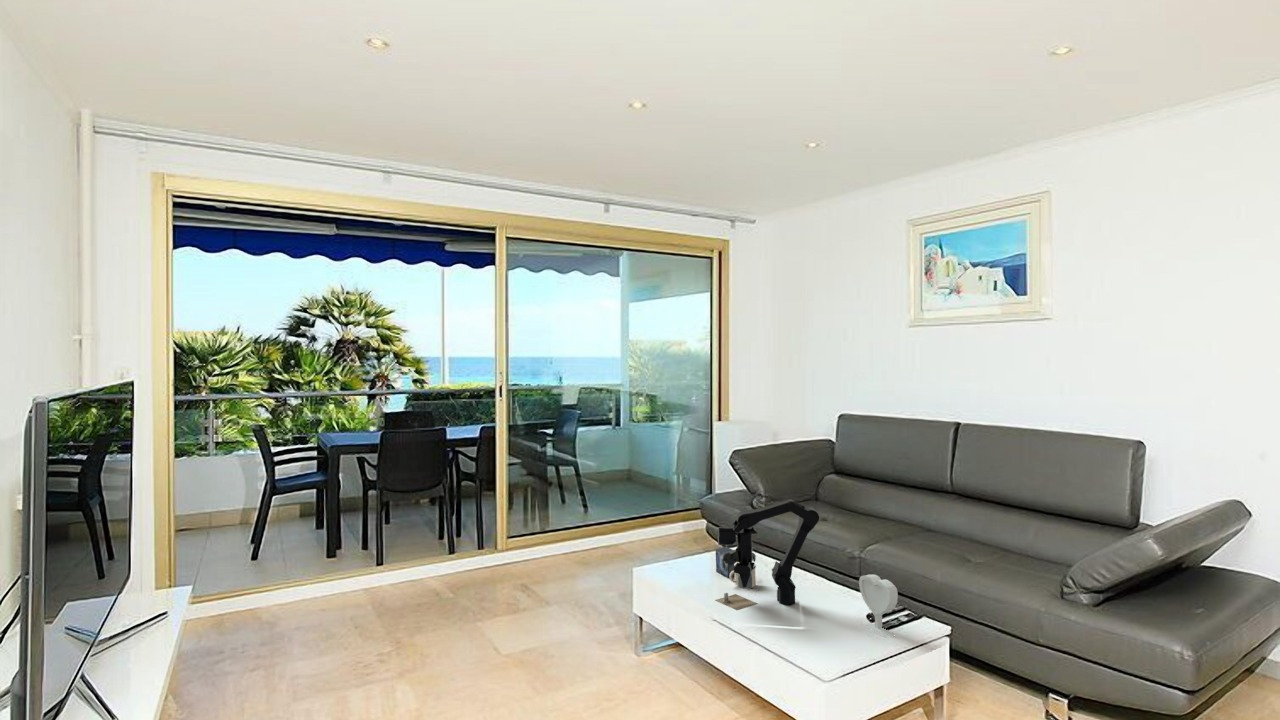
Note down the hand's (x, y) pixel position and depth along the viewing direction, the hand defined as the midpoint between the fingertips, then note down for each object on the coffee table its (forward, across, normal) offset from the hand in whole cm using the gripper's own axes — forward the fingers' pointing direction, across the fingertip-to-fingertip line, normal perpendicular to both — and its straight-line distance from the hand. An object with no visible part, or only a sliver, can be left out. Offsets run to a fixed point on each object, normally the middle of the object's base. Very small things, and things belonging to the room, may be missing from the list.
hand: (745, 584), depth 264 cm
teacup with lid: (+8, -20, -4) cm, 22 cm away
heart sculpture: (+8, +13, +48) cm, 50 cm away
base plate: (+8, 0, -4) cm, 9 cm away
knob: (+1, 0, 0) cm, 1 cm away
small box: (+8, -35, -12) cm, 38 cm away
